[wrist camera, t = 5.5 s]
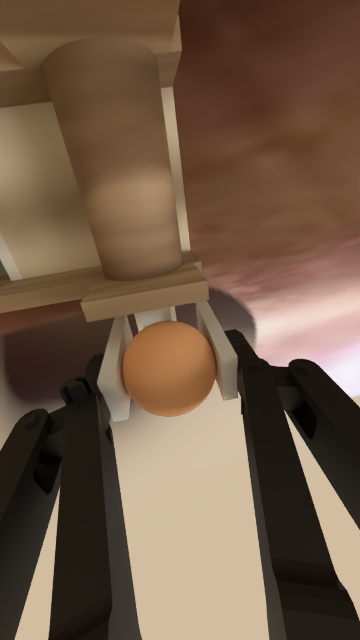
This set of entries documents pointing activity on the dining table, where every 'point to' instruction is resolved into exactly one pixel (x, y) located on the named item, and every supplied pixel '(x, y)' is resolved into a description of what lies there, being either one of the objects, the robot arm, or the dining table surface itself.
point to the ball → (169, 368)
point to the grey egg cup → (154, 317)
